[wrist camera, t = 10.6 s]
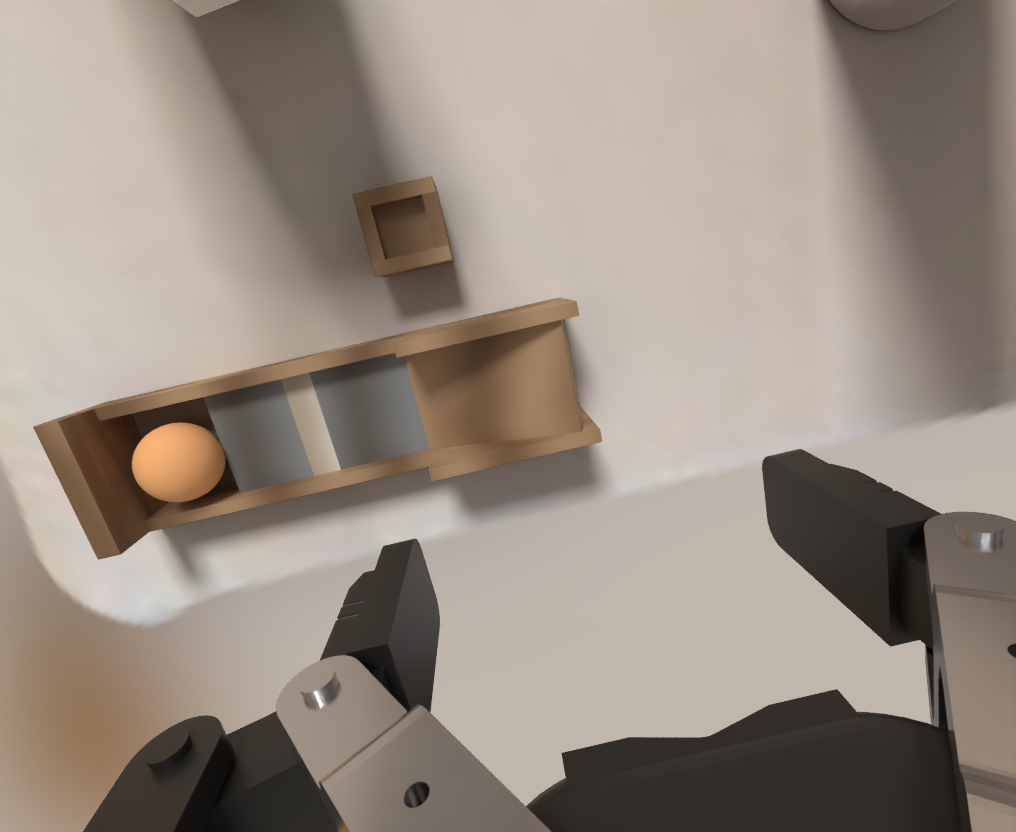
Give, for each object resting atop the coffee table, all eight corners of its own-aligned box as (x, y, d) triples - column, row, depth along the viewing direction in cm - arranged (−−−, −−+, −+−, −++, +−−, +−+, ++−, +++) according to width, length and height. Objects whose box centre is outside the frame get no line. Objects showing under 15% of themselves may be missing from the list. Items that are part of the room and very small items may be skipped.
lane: (559, 297, 30) (576, 301, 25) (582, 417, 32) (602, 441, 27) (103, 402, 30) (33, 426, 25) (154, 517, 32) (98, 559, 27)
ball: (96, 447, 27) (156, 423, 31) (133, 523, 28) (186, 490, 32) (173, 427, 26) (223, 406, 30) (208, 506, 27) (252, 474, 31)
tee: (435, 185, 28) (432, 176, 26) (453, 260, 29) (451, 259, 27) (363, 202, 28) (352, 194, 26) (384, 276, 29) (375, 276, 27)
